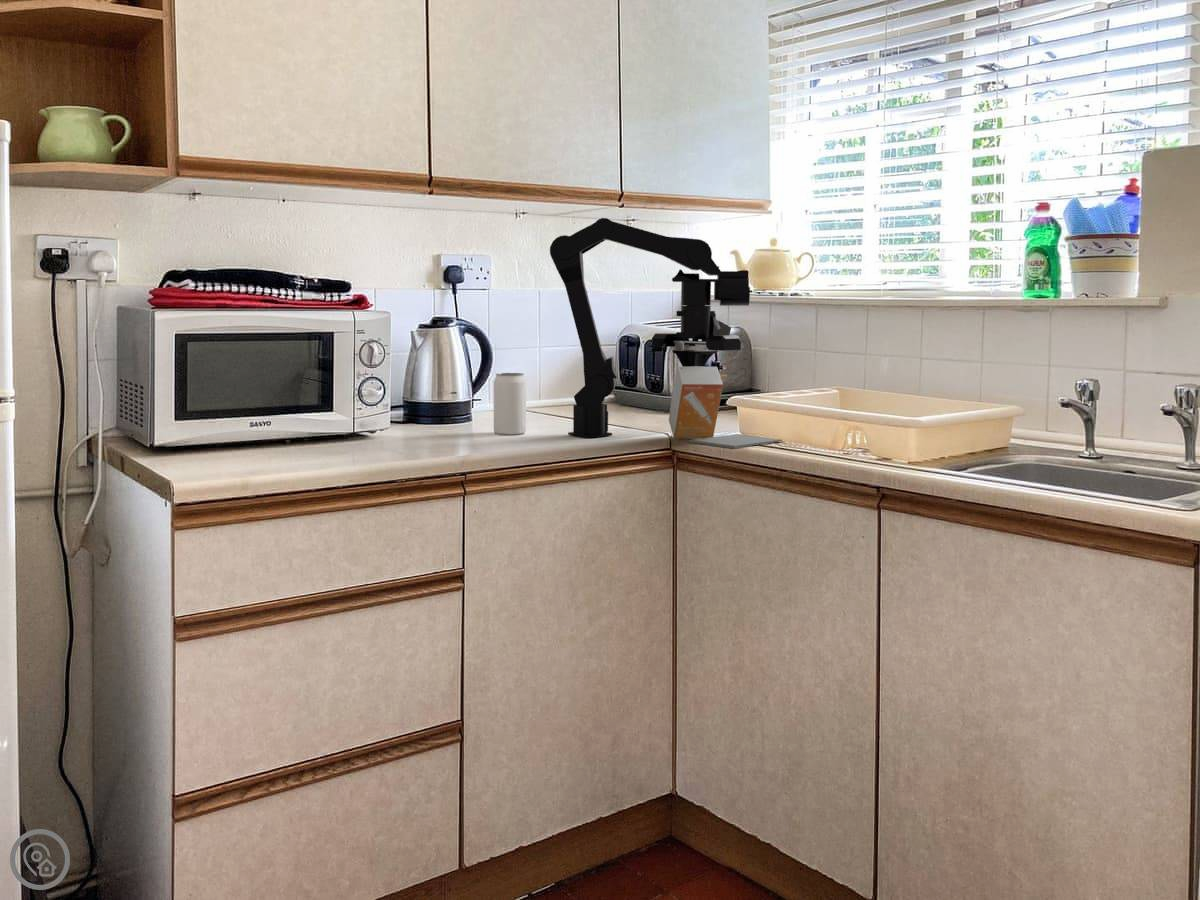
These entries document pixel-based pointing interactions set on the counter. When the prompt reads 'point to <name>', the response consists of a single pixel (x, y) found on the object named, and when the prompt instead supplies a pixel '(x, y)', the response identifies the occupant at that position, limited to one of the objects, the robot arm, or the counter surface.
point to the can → (509, 404)
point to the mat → (735, 441)
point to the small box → (695, 402)
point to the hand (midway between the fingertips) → (694, 386)
